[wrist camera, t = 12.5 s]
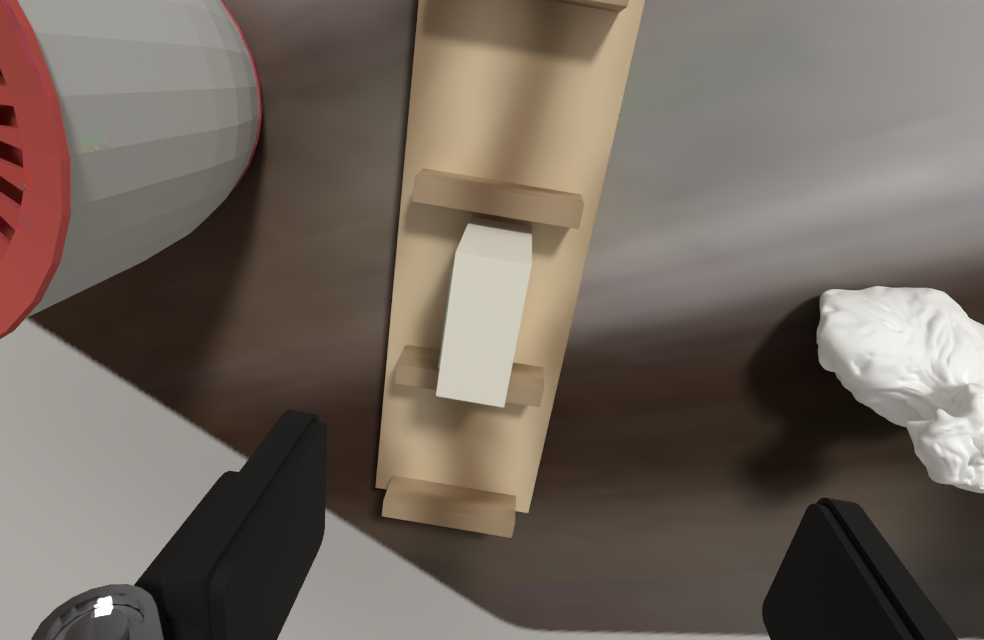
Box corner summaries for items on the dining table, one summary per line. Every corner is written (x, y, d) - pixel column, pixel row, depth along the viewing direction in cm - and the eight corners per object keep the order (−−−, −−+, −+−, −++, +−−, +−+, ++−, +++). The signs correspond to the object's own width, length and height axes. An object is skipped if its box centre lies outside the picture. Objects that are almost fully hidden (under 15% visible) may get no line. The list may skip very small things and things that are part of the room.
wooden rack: (640, -9, 27) (659, -23, 23) (528, 492, 39) (527, 540, 35) (430, -44, 27) (413, -65, 23) (382, 467, 39) (365, 513, 35)
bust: (768, 299, 35) (775, 483, 29) (857, 223, 28) (887, 443, 23) (954, 348, 35) (994, 538, 30) (1084, 285, 29) (1167, 515, 23)
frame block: (531, 226, 30) (531, 265, 24) (509, 346, 33) (504, 407, 27) (468, 215, 30) (451, 251, 24) (451, 336, 33) (432, 395, 27)
